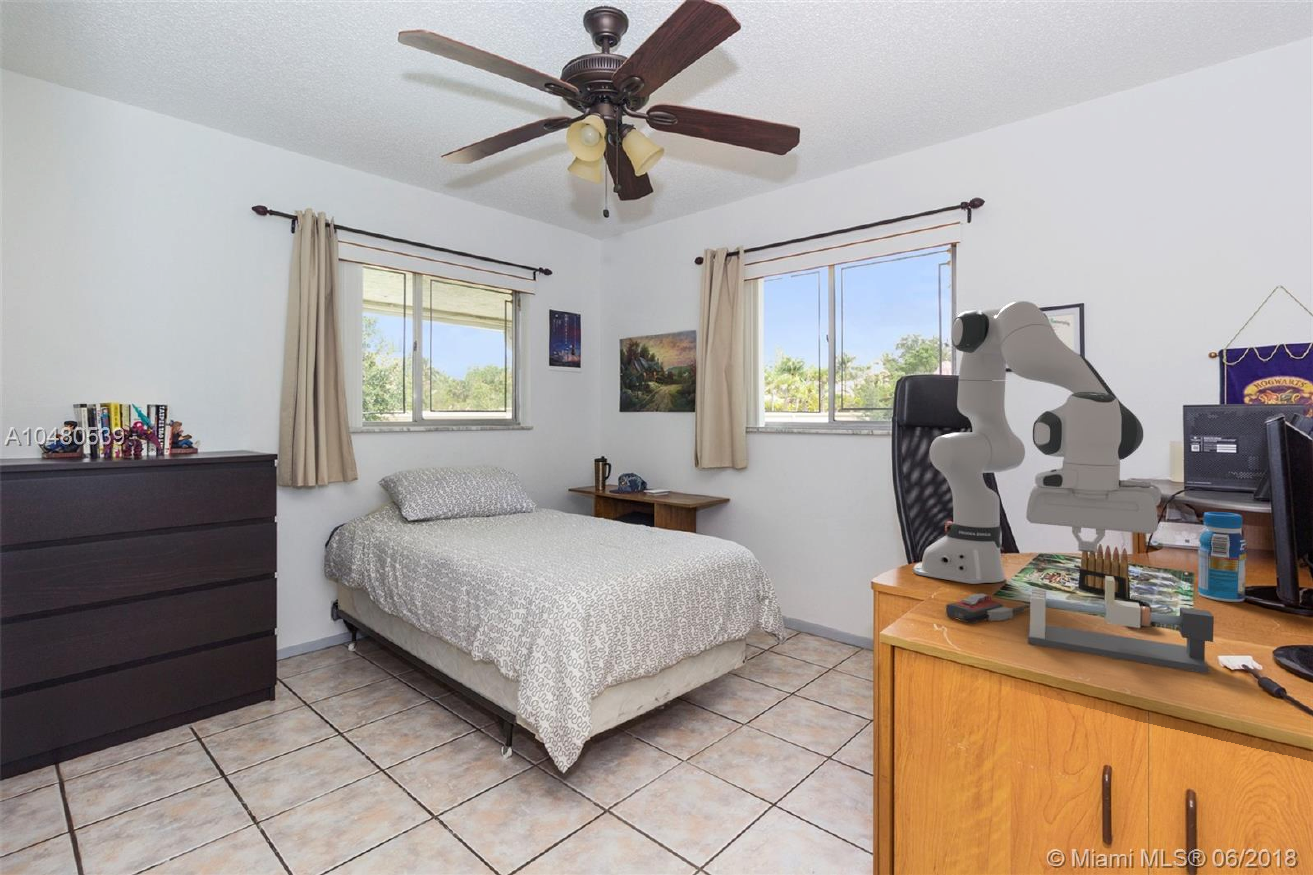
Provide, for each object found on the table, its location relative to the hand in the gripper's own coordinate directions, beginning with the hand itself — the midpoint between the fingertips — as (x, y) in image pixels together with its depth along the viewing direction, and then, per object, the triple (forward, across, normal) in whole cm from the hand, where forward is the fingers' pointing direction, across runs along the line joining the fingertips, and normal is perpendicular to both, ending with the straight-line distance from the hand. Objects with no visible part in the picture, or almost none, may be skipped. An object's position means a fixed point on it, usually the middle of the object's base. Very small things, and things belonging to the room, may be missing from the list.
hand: (1087, 551), depth 116 cm
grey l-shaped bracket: (+12, -6, 0) cm, 14 cm away
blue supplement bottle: (+18, -28, -52) cm, 62 cm away
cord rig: (+18, -4, 0) cm, 18 cm away
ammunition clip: (+19, -5, -42) cm, 47 cm away
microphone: (+19, -11, -25) cm, 33 cm away
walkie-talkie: (+19, +17, -10) cm, 27 cm away
